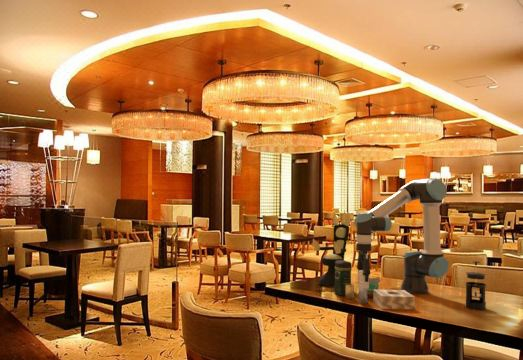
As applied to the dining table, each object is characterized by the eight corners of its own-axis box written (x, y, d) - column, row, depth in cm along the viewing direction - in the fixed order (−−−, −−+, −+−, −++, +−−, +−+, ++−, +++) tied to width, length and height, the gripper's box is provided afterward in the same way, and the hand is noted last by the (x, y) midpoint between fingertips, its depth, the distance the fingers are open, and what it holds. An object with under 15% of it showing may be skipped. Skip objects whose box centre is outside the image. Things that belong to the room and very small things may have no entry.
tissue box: (404, 301, 235) (404, 290, 236) (414, 309, 219) (414, 296, 220) (373, 301, 235) (373, 289, 236) (381, 308, 219) (381, 296, 220)
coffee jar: (353, 295, 247) (354, 261, 248) (340, 296, 244) (341, 261, 245) (344, 292, 256) (344, 259, 257) (331, 292, 253) (332, 259, 254)
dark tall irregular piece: (310, 284, 278) (311, 210, 279) (333, 280, 293) (334, 210, 294) (334, 289, 264) (336, 211, 265) (357, 285, 279) (359, 211, 280)
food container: (363, 297, 243) (364, 279, 243) (358, 295, 249) (358, 276, 249) (384, 297, 246) (384, 278, 246) (378, 294, 252) (378, 276, 252)
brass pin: (352, 297, 243) (353, 284, 244) (354, 299, 239) (354, 285, 239) (344, 297, 243) (344, 283, 244) (346, 298, 239) (346, 285, 239)
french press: (473, 304, 233) (474, 259, 234) (491, 308, 225) (491, 261, 225) (459, 307, 227) (459, 260, 227) (476, 311, 219) (476, 263, 219)
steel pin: (366, 301, 234) (366, 270, 235) (368, 303, 230) (368, 271, 231) (357, 301, 234) (358, 269, 235) (359, 303, 230) (360, 271, 231)
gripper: (351, 240, 245) (351, 281, 245) (361, 245, 221) (361, 290, 221) (365, 240, 245) (364, 281, 245) (377, 245, 221) (376, 290, 221)
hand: (363, 285), depth 233 cm, fingers open, 12 cm apart
